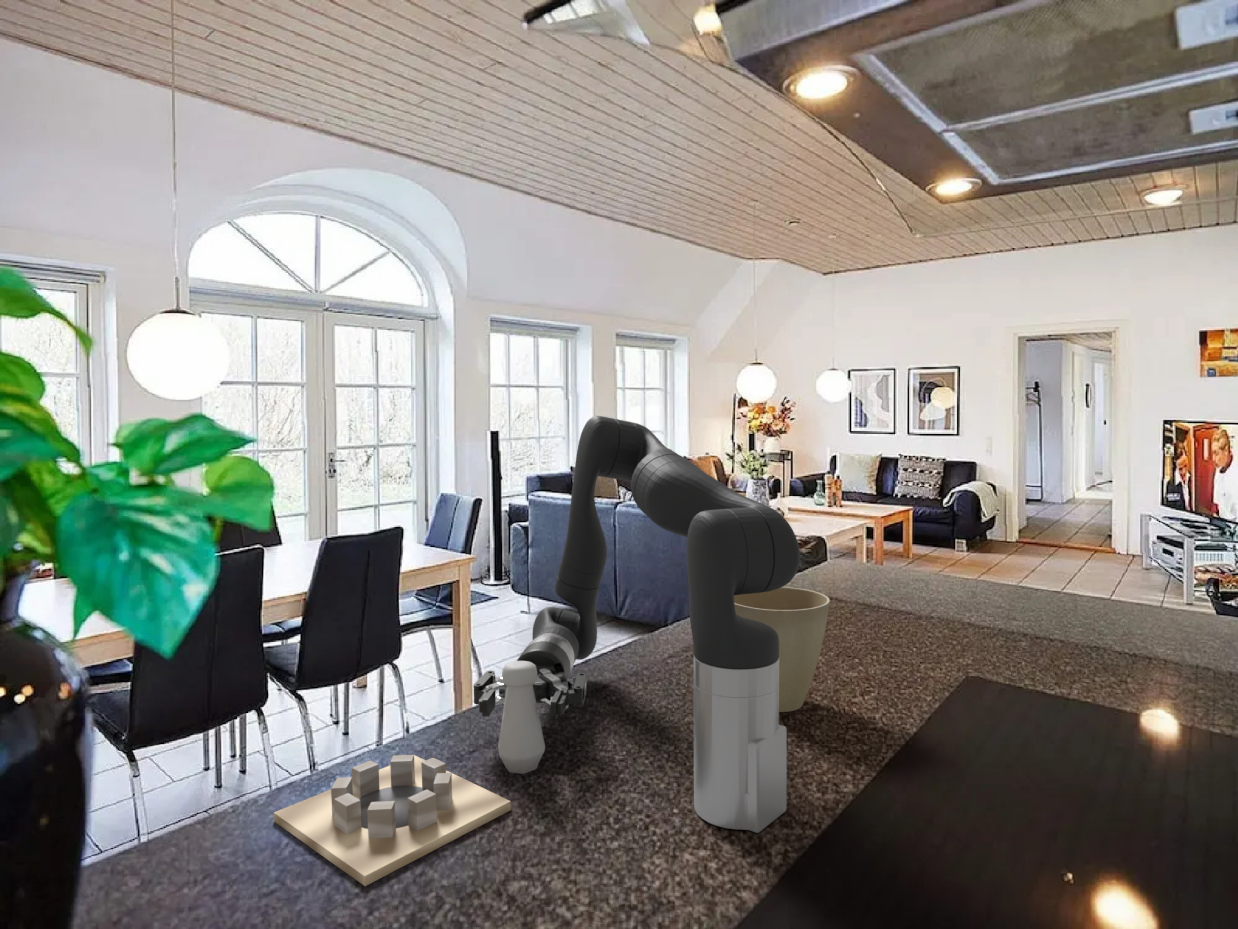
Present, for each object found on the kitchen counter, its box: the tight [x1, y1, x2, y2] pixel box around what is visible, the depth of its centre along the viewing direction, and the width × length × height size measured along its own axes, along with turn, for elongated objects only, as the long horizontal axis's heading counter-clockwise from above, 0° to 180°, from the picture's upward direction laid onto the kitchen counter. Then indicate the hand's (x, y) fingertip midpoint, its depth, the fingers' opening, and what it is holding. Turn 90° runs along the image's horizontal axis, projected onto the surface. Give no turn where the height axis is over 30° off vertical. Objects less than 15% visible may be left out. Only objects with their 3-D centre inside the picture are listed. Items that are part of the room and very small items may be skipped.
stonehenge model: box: [273, 754, 512, 887], centre depth 87 cm, size 18×18×4 cm
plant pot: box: [734, 586, 831, 713], centre depth 117 cm, size 15×15×16 cm
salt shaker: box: [497, 660, 546, 775], centre depth 98 cm, size 6×6×13 cm
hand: (519, 710), depth 97 cm, fingers open, 8 cm apart
